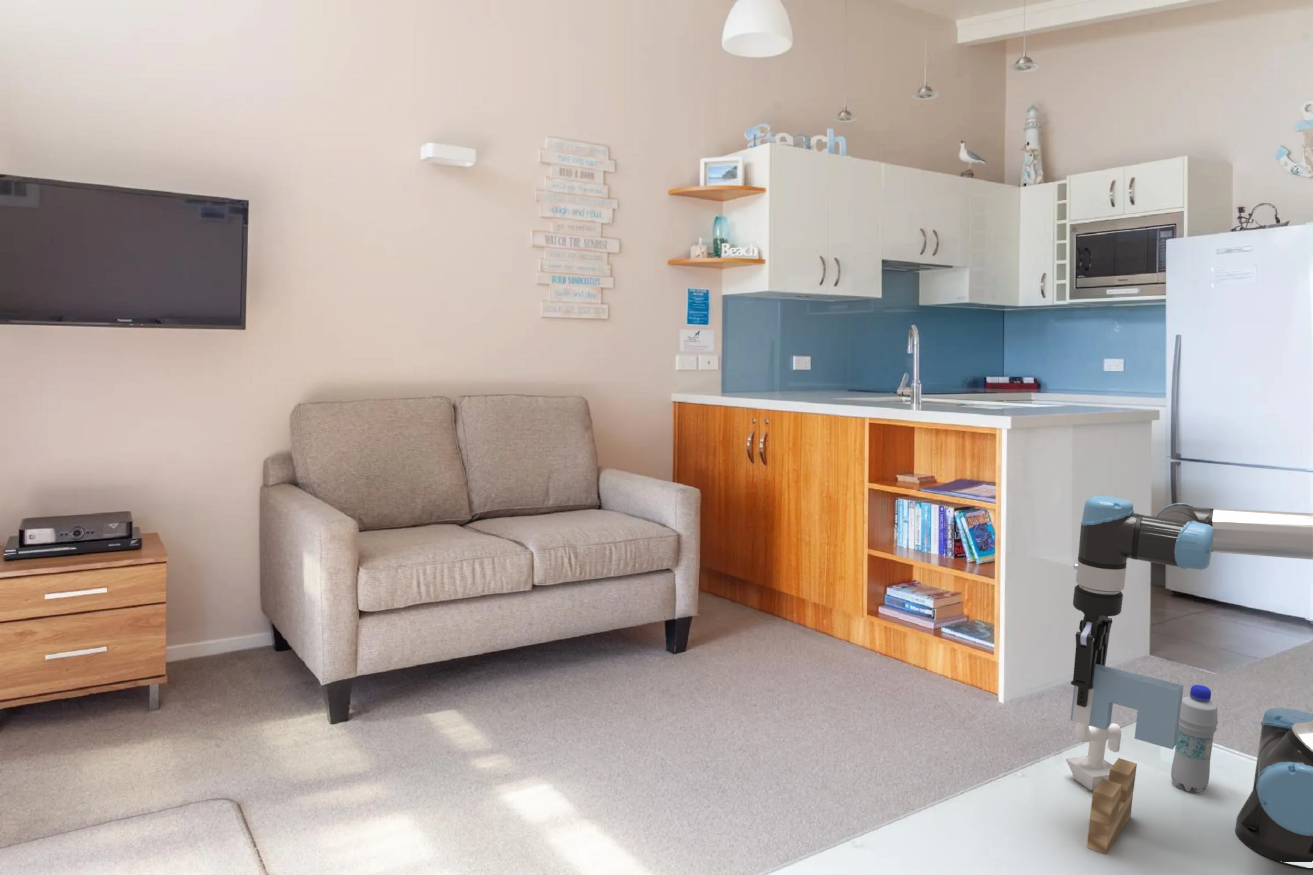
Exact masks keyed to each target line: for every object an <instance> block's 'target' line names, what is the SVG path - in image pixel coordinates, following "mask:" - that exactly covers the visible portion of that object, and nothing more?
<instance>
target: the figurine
mask: <svg viewBox="0 0 1313 875" xmlns="http://www.w3.org/2000/svg"><path fill="white" fill-rule="evenodd" d="M1075 735H1076V736H1075V737H1076V740H1078V741H1079V742H1081V743H1089V744H1088V751H1087V755H1083V756H1077V757H1076V756H1075V757H1067V758H1065V761H1066V762H1067V765H1068V767H1069V769H1070V771H1071V773H1072V776H1073V778H1074V780H1075V781H1077V782H1078V783H1080V784H1081V785H1082V786H1084V787H1085V788H1087V789H1088V790H1090V791H1092V792H1093V791H1094V789H1095V788H1096V787H1097V785H1098V784H1099V783H1100V782H1101V780H1102V779H1105V780H1109V773H1110V769H1111V767H1112V766H1113V765H1114V764H1112V763H1110V762H1109V761H1108V760H1105V754H1106V753H1105V752H1106V744H1107V748H1108V750H1109V751H1110V752H1113V753H1118V752H1120V749H1121V748H1120V747H1121V740H1122V730H1121V727H1120V725H1119V724H1117V723H1114V722H1113V723H1112V722H1111V725H1110V726H1109V727H1108V728H1107V729H1106V730H1103V729H1100V728H1096V727H1093V726H1088V725H1085V724H1081V723H1078V722H1076V727H1075Z"/></svg>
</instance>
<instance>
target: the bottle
mask: <svg viewBox="0 0 1313 875" xmlns="http://www.w3.org/2000/svg"><path fill="white" fill-rule="evenodd" d="M1211 698H1212V691H1211V689H1210V688H1209V687H1207V686H1205V685H1203V684H1193V685H1192V686H1191V688H1190V691H1189V696H1185V697H1182V704H1181V712H1180V720H1179V728H1178V737H1177V744H1176V745H1175V747H1174V748H1175V749H1174V755H1173V758H1172V759H1173V760H1172V762H1171V763H1172V764H1171V769H1170V777H1171V780H1172V782H1173V783H1174V785H1175V786H1176V787H1178V788H1182V786H1184V790H1185V791H1187V792H1190V791H1191V790H1192V788H1194V792H1195V793H1200V792H1202V791H1204V790H1206V789H1207V787H1208V785H1209V781H1210V771H1211V770H1210V769H1211V758H1212V751H1213V743H1214V735H1215V733H1216V731H1217V727H1218V726H1217V725H1218V723H1219V722H1218V706H1217V704H1216V703H1214V702H1213V701H1211Z"/></svg>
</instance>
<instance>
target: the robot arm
mask: <svg viewBox="0 0 1313 875" xmlns="http://www.w3.org/2000/svg"><path fill="white" fill-rule="evenodd" d="M1083 505H1084V506H1083V512H1082V518H1081V522H1080V533H1079V534H1080V535H1079V543H1078V544H1079V545H1078V554H1077V555H1078V556H1077V563H1074V565H1073V569H1074V570H1076V576H1075V583H1076V585H1075V586H1074V591H1073V598H1072V600H1073V602H1072V605H1073V608H1075V610H1077V611H1080V612H1082V613H1083V615H1084V616H1083V619H1081V620H1080V621H1079V627H1078V629H1079V631H1076V633H1075V654H1074V667H1073V676H1072V677H1073V679H1072V680H1071V681H1070V685H1072V686H1073V687H1074V686H1076V691H1075V700H1074V709H1073V718H1072V720H1071V721H1072V722H1075V723H1077V722H1078V723H1081V724H1085V725H1088V726H1089V725H1090V720H1091V711H1092V702H1093V693H1094V688H1092V687H1093V678H1094V672H1095V665H1096V664H1099V665H1103V666H1106V663H1107V662H1106V661H1107V656H1108V649H1109V648H1108V647H1109V642H1110V641H1109V640H1110V632H1111V628H1112V624H1113V618H1111V617H1116V616H1119V615H1120V614H1121V613H1122V606H1123V598H1124V594H1123V593H1122V591H1123V590H1124V589H1125V583H1126V575H1127V574H1126V573H1127V564H1128V563H1127V562H1128V559H1132V560H1136V561H1144V562H1149V563H1155V564H1160V565H1167V566H1171V567H1172V566H1173V567H1178V568H1181V569H1184V570H1185V569H1186V570H1187V569H1193V570H1206V569H1207V568H1208V567H1209V566H1210V563H1211V557H1212V553H1219V554H1233V555H1234V554H1235V555H1244V556H1245V555H1248V556H1259V557H1260V556H1261V557H1262V556H1263V557H1271V558H1272V557H1275V558H1287V559H1301V560H1312V561H1313V512H1312V513H1310V512H1309V513H1308V512H1294V511H1290V512H1289V511H1273V510H1254V509H1237V508H1235V509H1233V508H1217V507H1216V508H1215V507H1214V508H1209V507H1195V506H1193V505H1191V504H1189V503H1184V502H1176V503H1172V504H1170V505H1168V506H1167V505H1166V506H1165V507H1164V508H1162V509H1161V510H1160V511H1159V513H1157V515H1156V516H1151V515H1145V514H1139V513H1136V512H1135V509H1134V504H1133V503H1132V501H1130V500H1128V499H1125V498H1120V497H1116V496H1109V495H1108V496H1106V495H1095V496H1091V497H1089V498H1088V499H1086V500H1085V501H1084V504H1083ZM1260 725H1261V729H1260V739H1259V744H1258V745H1259V746H1258V749H1257V750H1258V751H1257V757H1256V766H1255V772H1254V778H1253V779H1254V780H1253V788H1252V791H1251V792H1250V794H1249V796H1248V798H1247V799H1246V801H1245V803H1244V804H1243V806H1242V807H1241V810H1239V813H1238V814H1237V816H1236V821H1235V828H1234V831H1235V834H1236V836H1237V837H1238V839H1240V841H1241V842H1242V843H1243V844H1245V846H1246V847H1248V848H1250V849H1251V850H1253V851H1254V852H1256V853H1258V854H1260V855H1262V856H1264V857H1266V858H1268V859H1271V860H1274V861H1276V862H1279V861H1282V862H1312V861H1313V713H1312V712H1308V711H1303V710H1297V709H1293V708H1284V707H1273V708H1269V709H1267V710H1266V711H1265V712H1264V714H1263V718H1262V721H1261V722H1260ZM1282 862H1281V863H1282Z"/></svg>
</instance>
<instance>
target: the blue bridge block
mask: <svg viewBox="0 0 1313 875" xmlns="http://www.w3.org/2000/svg"><path fill="white" fill-rule="evenodd" d="M1092 688H1094V693H1093V702H1092V711H1091V720H1090V725H1089V726H1093V727H1096V728H1100V729H1103V730H1106V729H1107V728H1108V727H1109V726H1110V725H1111V724H1112V714H1113V708H1114V707H1113V706H1114V705H1118V706H1121V707H1125V708H1130V709H1132V710H1135V711H1137V715H1136V722H1135V731H1134V739H1135V740H1138V741H1142V742H1145V743H1147V744H1152V745H1156V746H1159V747H1163V748H1167V749H1170V750H1173V749H1174V748H1175V747H1176V744H1177V737H1178V728H1179V720H1180V712H1181V704H1182V698H1183V696H1184V694H1183V692H1184V685H1183V684H1178V683H1175V682H1171V681H1166V680H1163V679H1158V678H1155V677H1152V676H1150V677H1149V676H1146V675H1142V674H1137V673H1135V672H1130V671H1126V670H1122V669H1119V668H1114V667H1111V666H1110V667H1109V666H1106V665H1105V666H1103V665H1099V664H1096V665H1095V672H1094V678H1093V687H1092ZM1075 691H1076V686H1074V685H1073V694H1072V701H1071V703H1072V704H1071V712H1070V721H1072V718H1073V709H1074V700H1075Z"/></svg>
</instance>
